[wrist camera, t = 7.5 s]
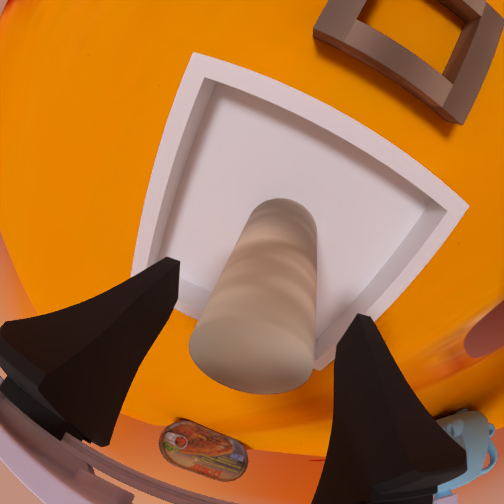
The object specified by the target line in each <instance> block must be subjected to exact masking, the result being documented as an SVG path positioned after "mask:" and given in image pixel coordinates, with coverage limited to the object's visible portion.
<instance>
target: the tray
mask: <svg viewBox="0 0 504 504" xmlns="http://www.w3.org/2000/svg"><path fill="white" fill-rule="evenodd" d="M275 198H285V199H290V200H293V201H296V202H298V203H300V204H301V205H303V206H304V207H305V208H306V209H308V211H309V212H310V213H311V214H312V216H313V218H314V220H315V223H316V227H317V297H316V326H315V345H314V361H313V369H316V370H319V371H321V370H322V369H324V368H325V367H326V366H327V365H328V364H329V363H331V362H332V361H333V360H334V359H335V354H336V346H337V343H338V342H339V341H340V339H341V338H342V336H343V335H344V333H345V332H346V330H347V329H348V327H349V326H350V324H351V323H352V321H353V319H354V318H355V316H356V315H357V313H359V314H363V315H367V316H371V318H372V320H373V321H374V322H375V321H376V320H377V319H378V318H379V317H380V316H381V315H382V314H383V313H384V312H385V310H386V309H387V308H388V307H389V306H390V305H391V304H392V303H393V302H394V301H395V300H396V299H397V298H398V297H399V296H400V294H401V293H402V292H403V291H404V290H405V289H406V288H407V287H408V285H409V284H410V283H411V282H412V281H413V280H414V279H415V277H416V276H417V275H418V274H419V273H420V271H421V270H422V269H423V268H424V267H425V265H426V264H427V263H428V262H429V261H430V259H431V258H432V257H433V255H434V254H435V253H436V252H437V250H438V249H439V248H440V246H441V245H442V244H443V243H444V241H445V240H446V239H447V237H448V236H449V234H450V233H451V232H452V230H453V229H454V228H455V226H456V225H457V223H458V222H459V220H460V219H461V218H462V216H463V215H464V213H465V212H466V210H467V209H468V207H469V205H468V204H467V203H466V202H465V201H464V200H463V199H462V198H460V197H459V196H458V195H457V194H456V193H455V192H454V191H453V190H452V189H450V188H449V187H448V186H447V185H446V184H445V183H443V182H442V181H441V180H440V179H439V178H437V177H436V176H435V175H434V174H432V173H431V172H430V171H429V170H427V169H426V168H425V167H424V166H422V165H421V164H420V163H418V162H417V161H416V160H414V159H413V158H412V157H410V156H409V155H408V154H406V153H405V152H403V151H402V150H401V149H399V148H398V147H396V146H395V145H393V144H392V143H390V142H389V141H387V140H386V139H384V138H383V137H381V136H380V135H378V134H377V133H375V132H374V131H372V130H370V129H369V128H367V127H366V126H364V125H362V124H361V123H359V122H357V121H356V120H354V119H352V118H351V117H349V116H347V115H345V114H343V113H342V112H340V111H338V110H336V109H334V108H333V107H331V106H329V105H327V104H325V103H323V102H321V101H319V100H317V99H315V98H313V97H311V96H309V95H307V94H305V93H303V92H301V91H299V90H297V89H294V88H292V87H290V86H288V85H285V84H283V83H281V82H279V81H276V80H274V79H271V78H269V77H266V76H264V75H261V74H259V73H256V72H254V71H251V70H248V69H246V68H243V67H240V66H237V65H234V64H231V63H228V62H225V61H222V60H219V59H216V58H213V57H209V56H206V55H202V54H199V53H195V52H193V54H192V56H191V59H190V61H189V64H188V66H187V68H186V71H185V73H184V76H183V78H182V81H181V84H180V86H179V89H178V92H177V94H176V97H175V100H174V103H173V105H172V108H171V111H170V114H169V117H168V120H167V123H166V126H165V129H164V133H163V136H162V139H161V142H160V146H159V149H158V153H157V156H156V160H155V163H154V167H153V171H152V174H151V178H150V182H149V186H148V190H147V194H146V199H145V203H144V208H143V212H142V217H141V222H140V227H139V232H138V237H137V242H136V248H135V254H134V260H133V266H132V273H131V277H133V276H135V275H136V274H138V273H140V272H141V271H143V270H145V269H146V268H148V267H150V266H151V265H153V264H155V263H156V262H158V261H160V260H161V259H163V258H165V257H170V258H173V259H176V260H179V261H180V275H179V293H178V300H177V302H176V304H175V307H174V309H176V310H178V311H180V312H182V313H184V314H186V315H188V316H190V317H192V318H194V319H196V320H199V319H200V316H201V314H202V312H203V310H204V308H205V306H206V304H207V302H208V300H209V298H210V296H211V294H212V292H213V289H214V287H215V285H216V283H217V281H218V279H219V277H220V275H221V273H222V271H223V269H224V267H225V265H226V263H227V261H228V259H229V257H230V255H231V253H232V251H233V249H234V247H235V245H236V243H237V241H238V239H239V237H240V235H241V232H242V230H243V228H244V226H245V224H246V222H247V221H248V219H249V217H250V215H251V213H252V211H253V210H254V209H255V208H256V207H257V206H258V205H259V204H261V203H263V202H265V201H267V200H270V199H275Z"/></svg>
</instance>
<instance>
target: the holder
mask: <svg viewBox="0 0 504 504" xmlns="http://www.w3.org/2000/svg"><path fill="white" fill-rule="evenodd" d="M438 1H439V2H440V3H442V4H443V5H444V6H446V7H447V8H448V9H450V10H451V11H452V12H454V13H455V14H456V15H457V16H458V17H460V18H461V19H462V20H463V21H464V22H465V24H464V27H463V29H462V32H461V34H460V36H459V39H458V41H457V43H456V46H455V48H454V50H453V52H452V55H451V57H450V59H449V61H448V63H447V66H446V68H445V70H444V72H443V74H442V75H441V74H440V73H439V72H437V71H436V70H435V69H434V68H432V67H431V66H430V65H428V64H427V63H426V62H424V61H423V60H422V59H420V58H419V57H418V56H416V55H415V54H413V53H412V52H410V51H409V50H408V49H406V48H405V47H403V46H402V45H400V44H398V43H397V42H395V41H394V40H392V39H391V38H389V37H387V36H386V35H384V34H382V33H381V32H379V31H377V30H375V29H374V28H372V27H370V26H368V25H366V24H365V23H363V22H361V21H359V20H357V17H358V15H359V13H360V11H361V10H362V8H363V6H364V4H365V2H366V0H328V2H327V4H326V6H325V7H324V9H323V11H322V13H321V15H320V16H319V18H318V20H317V22H316V24H315V26H314V27H313V37H314V38H316V39H318V40H320V41H323V42H325V43H327V44H329V45H331V46H333V47H335V48H337V49H339V50H341V51H343V52H345V53H347V54H349V55H351V56H353V57H354V58H356V59H358V60H360V61H362V62H363V63H365V64H367V65H369V66H370V67H372V68H374V69H375V70H377V71H379V72H380V73H382V74H383V75H385V76H387V77H388V78H390V79H391V80H393V81H394V82H396V83H397V84H399V85H400V86H402V87H403V88H404V89H406V90H407V91H409V92H410V93H411V94H413V95H414V96H416V97H417V98H418V99H420V100H421V101H422V102H424V103H425V104H426V105H427V106H429V107H430V108H431V109H432V110H434V111H435V112H436V113H437V114H439V115H440V116H441V117H442V118H443V119H444V120H446V121H448V122H452V123H456V124H459V125H463V124H464V122H465V120H466V118H467V116H468V114H469V112H470V110H471V108H472V106H473V104H474V102H475V99H476V97H477V95H478V93H479V91H480V88H481V86H482V84H483V82H484V79H485V77H486V74H487V72H488V70H489V67H490V64H491V62H492V59H493V57H494V54H495V51H496V48H497V45H498V42H499V39H500V36H501V33H502V30H503V27H504V19H503V18H502V17H501V16H500V15H499V14H498V13H497V12H496V11H495V10H494V9H493V8H492V7H491V6H490V5H489V4H488V3H487V2H486V1H485V0H438Z"/></svg>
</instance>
